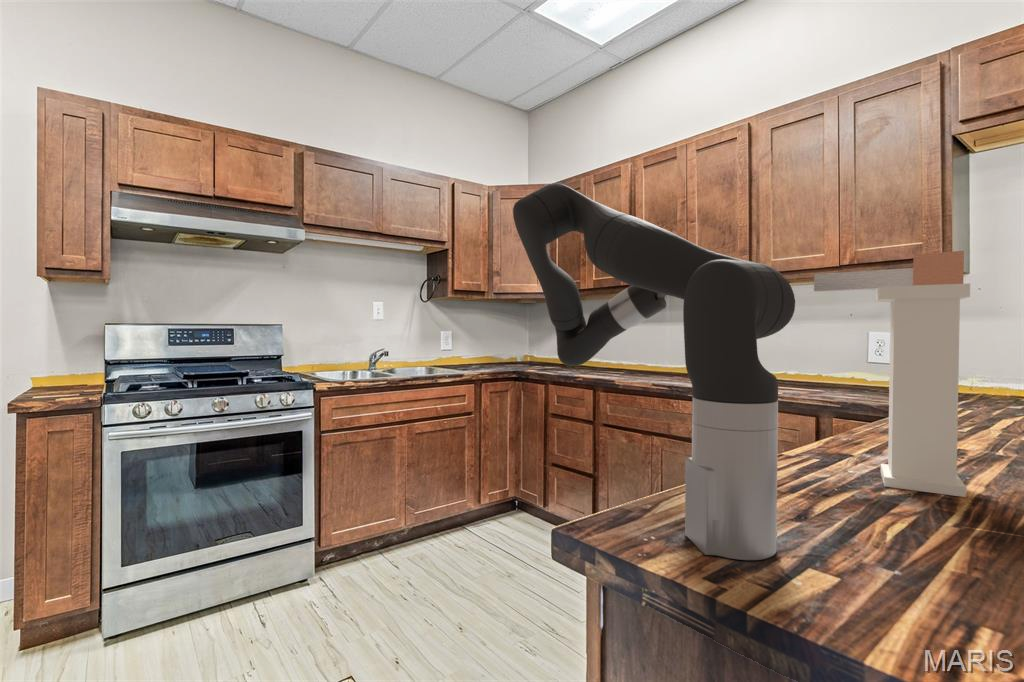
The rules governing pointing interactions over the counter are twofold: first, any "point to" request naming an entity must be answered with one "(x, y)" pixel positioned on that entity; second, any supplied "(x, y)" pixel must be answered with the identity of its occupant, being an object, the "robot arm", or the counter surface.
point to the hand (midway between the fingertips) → (709, 258)
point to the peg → (898, 274)
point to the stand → (923, 387)
